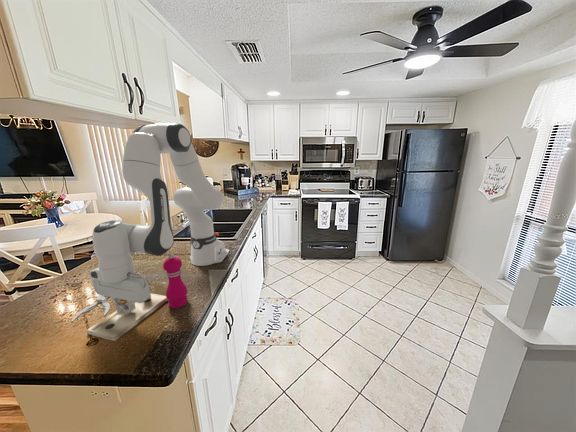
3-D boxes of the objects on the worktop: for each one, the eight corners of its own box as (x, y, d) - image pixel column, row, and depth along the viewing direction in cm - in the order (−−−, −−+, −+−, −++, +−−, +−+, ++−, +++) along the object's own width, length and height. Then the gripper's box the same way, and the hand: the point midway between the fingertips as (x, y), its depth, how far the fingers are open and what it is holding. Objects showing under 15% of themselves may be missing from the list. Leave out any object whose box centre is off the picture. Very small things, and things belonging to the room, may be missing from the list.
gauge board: (145, 295, 90) (145, 291, 89) (168, 299, 87) (167, 295, 86) (87, 334, 70) (86, 329, 70) (114, 341, 67) (113, 336, 67)
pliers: (69, 319, 75) (90, 294, 88) (70, 323, 75) (91, 298, 89) (105, 312, 78) (120, 289, 92) (106, 316, 78) (120, 293, 92)
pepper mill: (166, 301, 86) (158, 253, 81) (186, 295, 90) (179, 248, 85) (169, 311, 80) (161, 260, 75) (190, 304, 84) (184, 254, 79)
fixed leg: (147, 297, 86) (145, 286, 85) (154, 298, 85) (152, 287, 84) (140, 302, 83) (138, 290, 82) (147, 303, 82) (145, 292, 81)
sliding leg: (129, 309, 79) (126, 295, 77) (136, 310, 78) (133, 296, 77) (118, 316, 75) (115, 302, 74) (125, 318, 74) (122, 304, 73)
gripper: (152, 270, 73) (158, 307, 76) (104, 263, 78) (112, 298, 81) (134, 280, 67) (142, 320, 70) (84, 271, 72) (94, 308, 76)
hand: (126, 308), depth 76 cm, fingers closed on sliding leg, 3 cm apart
